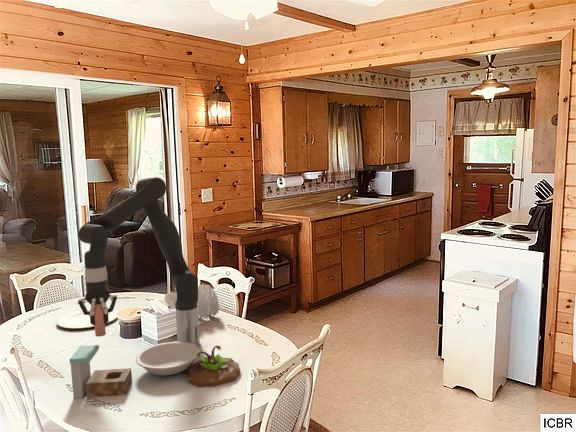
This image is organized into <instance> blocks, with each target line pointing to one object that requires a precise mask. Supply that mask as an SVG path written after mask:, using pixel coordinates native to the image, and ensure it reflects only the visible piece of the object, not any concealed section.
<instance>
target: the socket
mask: <svg viewBox="0 0 576 432" xmlns="http://www.w3.org/2000/svg"><path fill="white" fill-rule="evenodd" d="M132 383H133V375H132V368H131V367H130V368H127V367H126V368H117V369H116V368H115V369H114V368H112V369H99V370H94V371H93V372H92V373H91V377H90V378H89V380H88V382H87V383H86V390H87V392H86V397H87V398H97V397H98V398H99V397H100V398H101V397H109V396H110V397H113V396H124V395H125V396H126V395H127V394H128V391H129V388H130V386H131V385H132Z"/></svg>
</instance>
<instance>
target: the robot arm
mask: <svg viewBox="0 0 576 432" xmlns="http://www.w3.org/2000/svg"><path fill="white" fill-rule="evenodd" d="M135 192H136V193H135V194H133V195H132V196H130V197H128V198H126V199H125V200H122V201H120V202H119V203H117V204H115V205H114V206H112V207H111V208H110V209H108V210H107V211H106V212H104V213H103V214H102V215H100V216H98V217H96V218H93V219H92V220H89V221H87V222H86V223H85V224H83V225H82V226H81V227H80V229H79V230H78V233H77V235H78V236H77V237H78V239H79V240H80V241H81V242H82V243H84V244H89V250H88V251H85V253H84V255H83V256H84V257H83V259H84V281H85V282H84V283H85V296H84V297H83V298H79V299H78V301H77V304H78V305H79V307H80V309H81V310H82V311H83V313H84V315H89V316H90V323H91V324H93V325H95V322H94V313H93V312H94V306H95V305H97V304H101V305H102V308H103V310H104V320H105V325H107V324H108V323H107V322H108V321H109V318H108V313H109V312H112V311H113V309H114V310H115V305H116V304H117V301H118V295H117V294H111V293H110V292H109V284H108V272H107V266H106V265H107V264H106V252H107V246H108V241H109V237H108V236H109V235H108V232H112V231H115V230H116V229H118V228H119V227H120V226H122V225H123V224H124V223H125V222H126V221H127V220H129V219H130V218H131V217H132V216H134V215H135V214H136V213H138V212H139V211H141V210H142V209H143V210H144V211H145V214H146V216H147V218H148V221H149V224H150V226H151V228H152V231H153V234H154V237H155V239H156V241H157V244H158V247H159V249H160V250H161V251H160V252H161V253H162V256H163V257H164V260H165V262H166V263H167V267H168V270H169V273H170V278H171V281H172V286H174V288H175V289H176V293H177V301H176V303H175V307H176V320H175V321H176V323H175V325H176V340H177V341H176V342H186V343H191V344H194V345H196V346H197V347H198V348H199V347H200V341H201V339H200V321H199V318H198V310H197V302H198V286H199V282H198V278H197V276H196V274H194V273H193V272H192V271H191V270H190V269H189V267H188V264H187V262H186V260H185V258H184V253H183V245H182V241H181V236H180V233H179V232H178V229H177V226H176V224H175V222H174V221H172V218H170V217H169V216H168V214H166V213H165V211H164V210H163V209H162V207H161V205H160V202H159V199H161V198H163V197H164V196H165V194H166V193H167V184H166V182H165V180H163V179H162V178H160V177H157V176H151V177H145V178H142V179H139V180H138V181H137V182H136V184H135ZM109 299H110V301H111V302H110V306H109V308H108V306H107V301H108V300H109ZM86 302H87V303H88V304H89V305H90V308H89V309H90V311H88V310H87V309H88V308H87V306H86V305H85V304H86ZM107 308H108V309H107Z"/></svg>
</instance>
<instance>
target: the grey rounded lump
mask: <svg viewBox="0 0 576 432" xmlns="http://www.w3.org/2000/svg"><path fill="white" fill-rule="evenodd" d="M176 301H177V292H174V291H170V292H169V293H165V296H164V302H165V303H166V304H167V305H168V307H169V308H170V310H171V309H176V307H175V303H176ZM219 303H220V302H219V298H218V295H217V294H216V291H215V289H213V287H211V285H209V284H205V283H203V282H202V283H201V284H200V285H198V302H197V310H198V319H202V318H204V320H205V319H207V318H208V316H213V317H215V316H216V315H217V314H219V311H220V307H221V306H220V304H219Z"/></svg>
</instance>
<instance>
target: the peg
mask: <svg viewBox="0 0 576 432" xmlns="http://www.w3.org/2000/svg"><path fill="white" fill-rule="evenodd" d="M94 322H95V327H94V335H95V337H104V336H106V335H107V333H106V324H105V320H104V310H103V308H102V305H101V304H97V305H95V306H94Z"/></svg>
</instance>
